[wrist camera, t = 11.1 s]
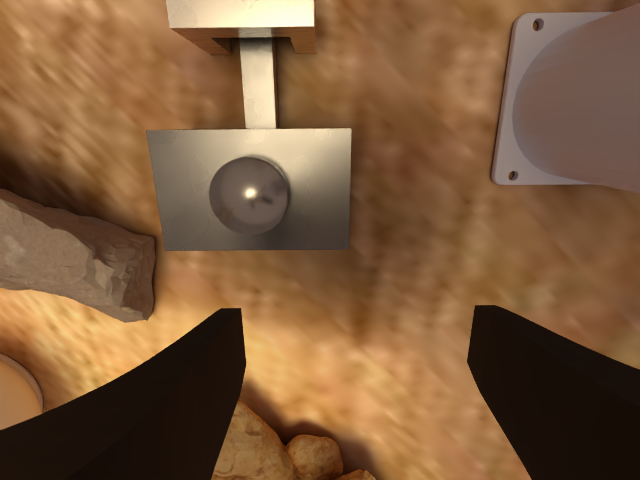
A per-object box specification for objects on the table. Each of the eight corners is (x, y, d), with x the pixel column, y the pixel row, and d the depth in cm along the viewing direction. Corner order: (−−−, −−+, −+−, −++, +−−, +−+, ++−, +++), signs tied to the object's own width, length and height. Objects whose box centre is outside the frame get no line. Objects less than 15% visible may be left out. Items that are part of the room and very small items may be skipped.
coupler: (346, -86, 15) (360, -210, 10) (342, 219, 20) (351, 257, 14) (166, -83, 15) (75, -206, 10) (202, 220, 20) (154, 259, 14)
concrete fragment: (136, 333, 22) (72, 405, 17) (-83, 205, 20) (-250, 238, 14) (191, 252, 21) (141, 301, 15) (-41, 99, 18) (-213, 87, 12)
